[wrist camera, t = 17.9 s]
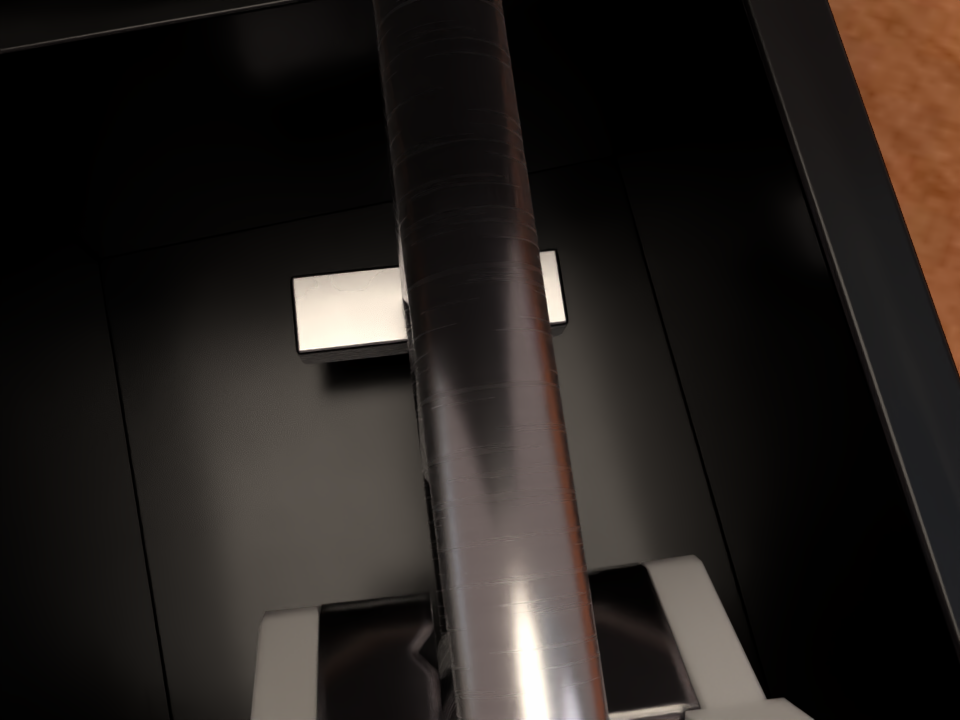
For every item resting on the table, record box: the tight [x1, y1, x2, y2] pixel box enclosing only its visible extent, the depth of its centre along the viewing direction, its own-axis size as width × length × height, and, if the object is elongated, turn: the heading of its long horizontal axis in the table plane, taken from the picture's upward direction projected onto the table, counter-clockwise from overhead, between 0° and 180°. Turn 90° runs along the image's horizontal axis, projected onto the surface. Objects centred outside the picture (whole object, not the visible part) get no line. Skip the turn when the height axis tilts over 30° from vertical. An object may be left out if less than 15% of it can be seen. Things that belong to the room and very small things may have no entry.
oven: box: [0, 0, 960, 720], centre depth 12 cm, size 17×11×7 cm, turn 13°
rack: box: [290, 0, 610, 720], centre depth 9 cm, size 11×4×9 cm, turn 7°
